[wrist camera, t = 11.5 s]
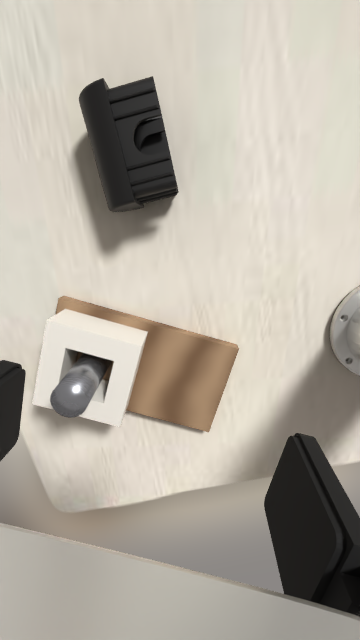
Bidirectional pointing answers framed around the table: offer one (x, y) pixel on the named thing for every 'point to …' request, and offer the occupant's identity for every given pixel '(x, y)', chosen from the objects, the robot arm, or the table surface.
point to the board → (170, 368)
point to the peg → (79, 385)
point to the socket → (95, 339)
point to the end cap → (128, 143)
